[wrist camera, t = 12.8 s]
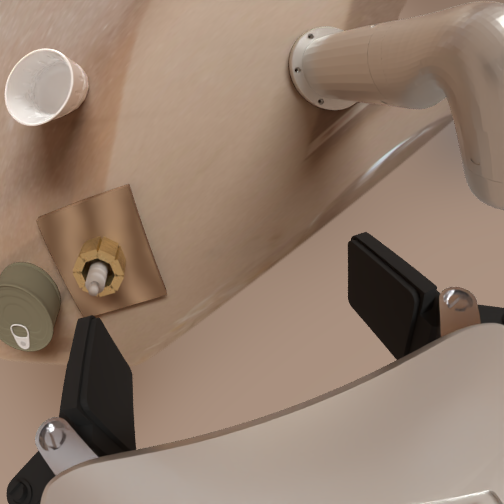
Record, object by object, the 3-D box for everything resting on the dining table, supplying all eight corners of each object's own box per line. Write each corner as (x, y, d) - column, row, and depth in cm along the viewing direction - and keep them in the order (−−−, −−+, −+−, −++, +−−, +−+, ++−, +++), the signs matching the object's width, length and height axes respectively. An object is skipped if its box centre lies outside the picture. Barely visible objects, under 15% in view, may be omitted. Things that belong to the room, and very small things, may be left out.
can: (57, 262, 40) (45, 288, 34) (66, 326, 45) (59, 355, 39) (-8, 258, 36) (-26, 281, 30) (6, 320, 41) (-6, 347, 35)
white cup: (82, 124, 33) (60, 131, 24) (30, 114, 30) (-4, 120, 21) (102, 64, 30) (84, 53, 22) (48, 55, 27) (18, 45, 19)
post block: (129, 183, 38) (121, 207, 30) (166, 289, 47) (170, 329, 39) (39, 216, 36) (15, 246, 28) (85, 312, 45) (77, 354, 37)
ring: (115, 231, 39) (111, 244, 36) (131, 272, 42) (129, 288, 39) (72, 245, 38) (65, 259, 35) (90, 285, 41) (86, 300, 38)
